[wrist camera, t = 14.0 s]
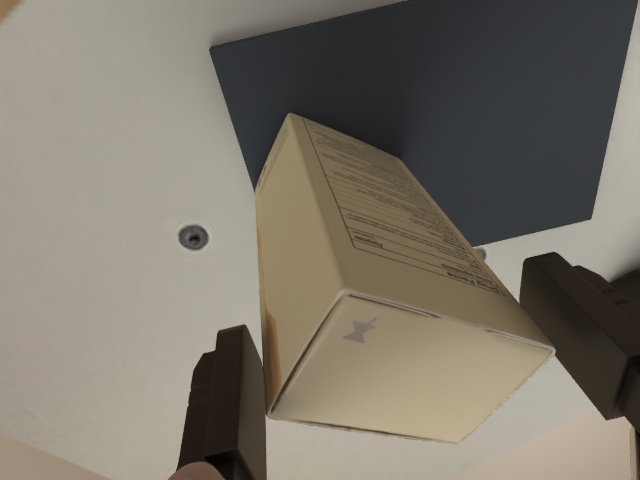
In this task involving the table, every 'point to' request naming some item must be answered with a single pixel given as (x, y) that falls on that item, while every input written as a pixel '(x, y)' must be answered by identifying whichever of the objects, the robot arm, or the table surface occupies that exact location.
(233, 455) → the robot arm
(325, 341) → the cosmetic box
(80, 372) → the table surface
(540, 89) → the mat
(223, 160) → the table surface
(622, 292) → the supplement bottle
